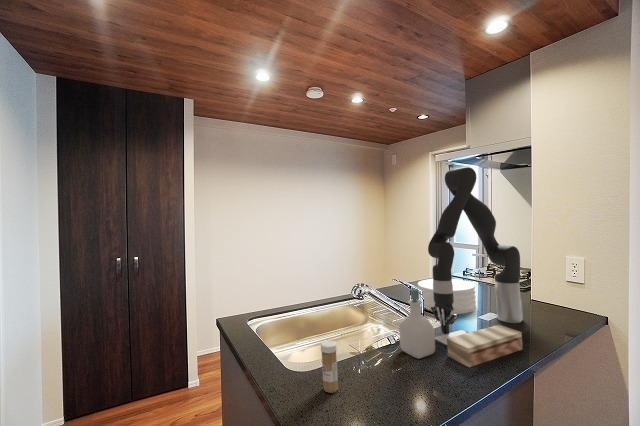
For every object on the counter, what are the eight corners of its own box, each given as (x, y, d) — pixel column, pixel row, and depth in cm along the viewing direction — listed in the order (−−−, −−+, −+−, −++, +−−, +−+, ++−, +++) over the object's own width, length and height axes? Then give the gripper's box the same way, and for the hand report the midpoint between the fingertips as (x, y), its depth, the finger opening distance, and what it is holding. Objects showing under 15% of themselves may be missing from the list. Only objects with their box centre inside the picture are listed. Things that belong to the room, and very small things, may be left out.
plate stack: (410, 308, 154) (409, 286, 154) (429, 295, 175) (428, 276, 175) (468, 317, 136) (466, 293, 136) (481, 302, 157) (480, 281, 157)
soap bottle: (418, 361, 97) (414, 293, 98) (398, 351, 106) (394, 288, 106) (438, 354, 102) (434, 289, 102) (417, 344, 110) (413, 284, 111)
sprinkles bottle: (319, 391, 84) (317, 344, 84) (329, 383, 87) (327, 338, 88) (332, 396, 81) (329, 348, 81) (341, 388, 84) (339, 342, 85)
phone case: (448, 350, 106) (480, 341, 111) (447, 346, 106) (480, 336, 111) (431, 341, 114) (461, 333, 120) (430, 337, 114) (461, 329, 120)
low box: (499, 340, 110) (498, 324, 110) (522, 349, 102) (521, 332, 102) (447, 356, 100) (446, 338, 100) (469, 367, 92) (467, 348, 92)
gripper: (463, 292, 113) (465, 337, 113) (438, 286, 125) (440, 326, 125) (448, 295, 110) (451, 341, 110) (424, 288, 123) (426, 329, 122)
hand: (445, 333), depth 118 cm, fingers closed
